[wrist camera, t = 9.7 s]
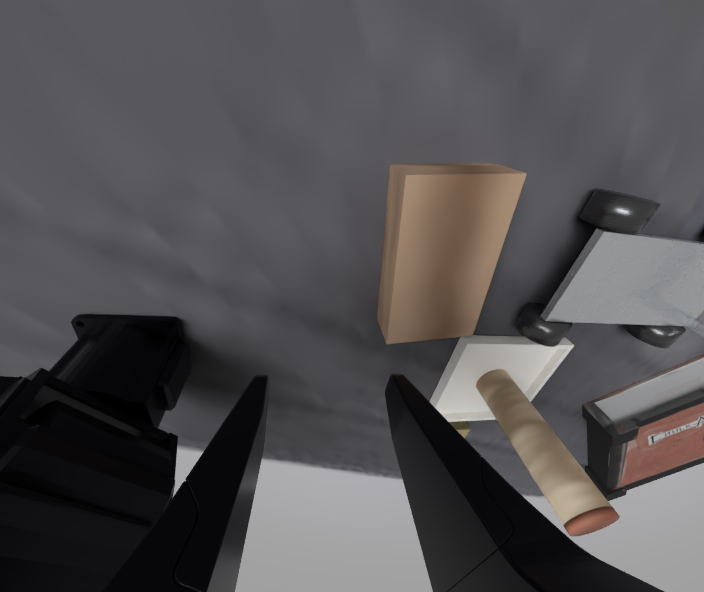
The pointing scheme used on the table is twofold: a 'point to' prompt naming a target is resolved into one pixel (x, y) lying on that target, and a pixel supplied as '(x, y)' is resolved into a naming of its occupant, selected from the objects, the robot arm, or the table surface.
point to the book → (646, 429)
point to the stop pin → (546, 457)
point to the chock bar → (442, 246)
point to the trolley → (624, 279)
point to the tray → (486, 355)
